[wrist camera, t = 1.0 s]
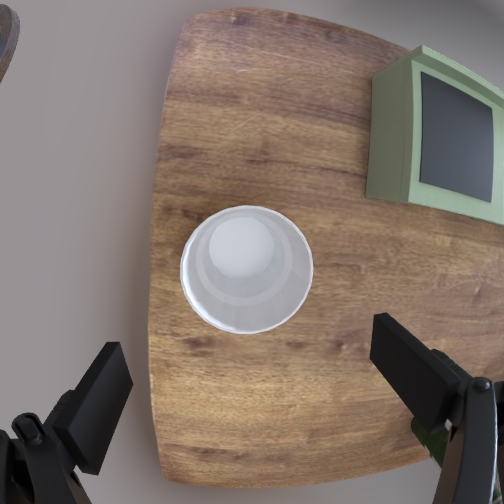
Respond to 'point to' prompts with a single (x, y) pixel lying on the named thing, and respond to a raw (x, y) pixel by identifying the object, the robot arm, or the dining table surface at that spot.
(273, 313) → the cup
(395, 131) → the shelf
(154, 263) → the dining table surface
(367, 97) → the dining table surface
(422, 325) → the dining table surface
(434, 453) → the wine bottle
